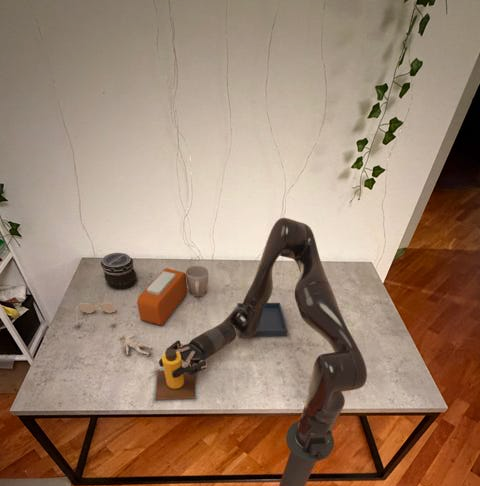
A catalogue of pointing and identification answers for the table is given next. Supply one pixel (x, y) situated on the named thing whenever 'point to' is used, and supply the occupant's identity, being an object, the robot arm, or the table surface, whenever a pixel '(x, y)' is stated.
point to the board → (172, 394)
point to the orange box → (162, 296)
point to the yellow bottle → (172, 368)
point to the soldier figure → (133, 344)
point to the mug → (197, 280)
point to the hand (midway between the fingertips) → (166, 369)
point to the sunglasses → (104, 306)
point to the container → (118, 270)
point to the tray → (270, 321)
